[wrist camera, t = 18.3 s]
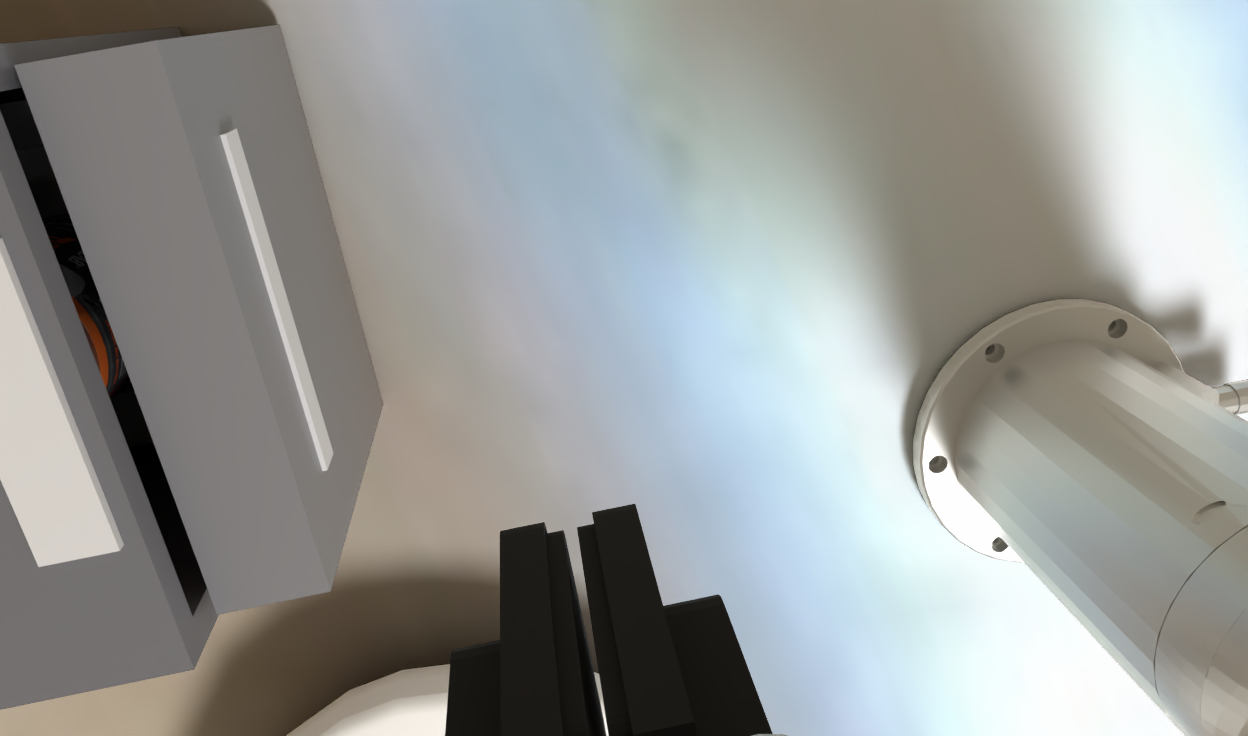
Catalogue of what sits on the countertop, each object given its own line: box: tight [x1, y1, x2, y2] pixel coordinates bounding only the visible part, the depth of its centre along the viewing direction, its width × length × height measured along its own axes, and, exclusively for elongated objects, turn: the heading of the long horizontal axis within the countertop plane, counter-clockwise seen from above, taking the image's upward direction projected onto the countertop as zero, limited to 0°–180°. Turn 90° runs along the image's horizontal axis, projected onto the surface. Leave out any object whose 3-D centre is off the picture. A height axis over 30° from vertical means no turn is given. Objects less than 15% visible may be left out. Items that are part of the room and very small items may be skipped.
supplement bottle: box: [42, 213, 130, 400], centre depth 31 cm, size 6×6×11 cm
